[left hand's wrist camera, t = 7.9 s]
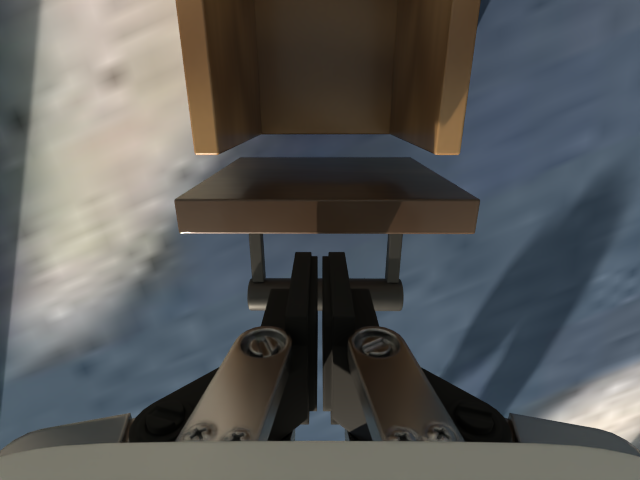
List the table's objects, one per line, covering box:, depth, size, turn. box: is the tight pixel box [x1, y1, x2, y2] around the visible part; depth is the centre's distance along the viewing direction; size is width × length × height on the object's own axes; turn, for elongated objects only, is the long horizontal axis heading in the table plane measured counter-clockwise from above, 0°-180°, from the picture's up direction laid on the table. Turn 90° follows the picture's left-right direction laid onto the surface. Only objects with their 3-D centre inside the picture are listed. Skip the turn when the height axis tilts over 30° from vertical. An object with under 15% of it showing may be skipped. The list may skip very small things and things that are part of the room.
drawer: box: [175, 0, 481, 311], centre depth 14 cm, size 26×10×10 cm, turn 0°
